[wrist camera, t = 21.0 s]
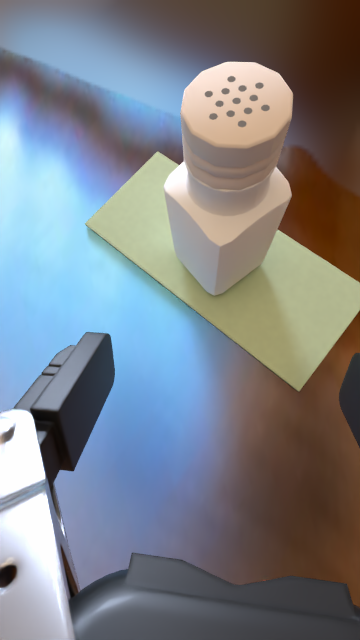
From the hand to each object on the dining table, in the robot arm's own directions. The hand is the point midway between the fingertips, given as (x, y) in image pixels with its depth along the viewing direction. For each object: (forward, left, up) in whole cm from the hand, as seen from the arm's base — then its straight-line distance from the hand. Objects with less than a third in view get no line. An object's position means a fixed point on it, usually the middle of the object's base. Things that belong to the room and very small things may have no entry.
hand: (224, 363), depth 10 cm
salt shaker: (+1, -7, -6) cm, 9 cm away
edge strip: (+1, -7, -6) cm, 9 cm away
